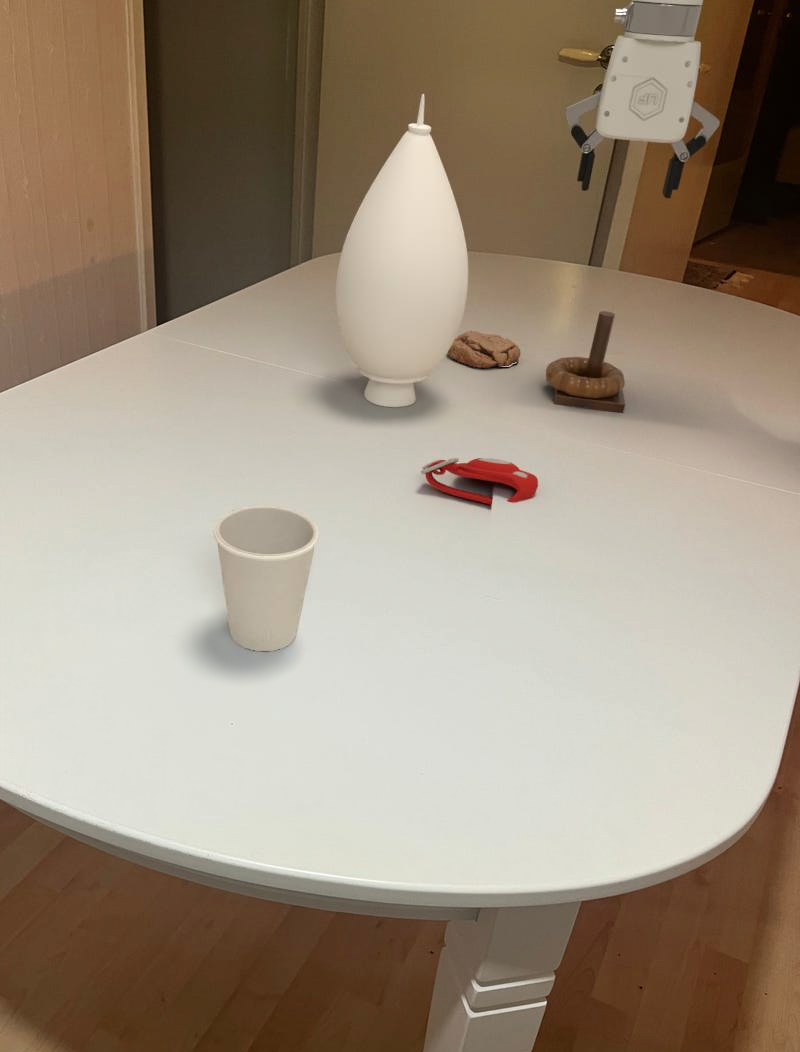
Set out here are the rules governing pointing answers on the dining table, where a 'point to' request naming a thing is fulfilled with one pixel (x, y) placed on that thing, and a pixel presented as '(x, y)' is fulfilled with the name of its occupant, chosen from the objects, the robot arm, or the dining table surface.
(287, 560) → the dixie cup
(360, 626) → the dining table surface
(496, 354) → the cookie
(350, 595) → the dining table surface
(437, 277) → the lamp
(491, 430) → the dining table surface
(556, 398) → the peg
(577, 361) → the ring
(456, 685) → the dining table surface
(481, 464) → the tracker holder
